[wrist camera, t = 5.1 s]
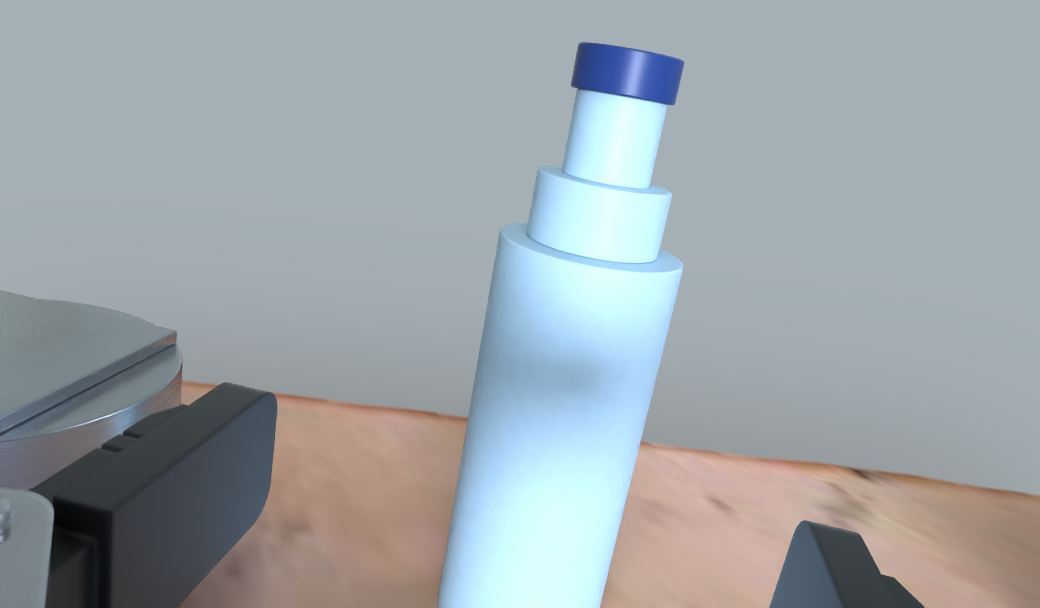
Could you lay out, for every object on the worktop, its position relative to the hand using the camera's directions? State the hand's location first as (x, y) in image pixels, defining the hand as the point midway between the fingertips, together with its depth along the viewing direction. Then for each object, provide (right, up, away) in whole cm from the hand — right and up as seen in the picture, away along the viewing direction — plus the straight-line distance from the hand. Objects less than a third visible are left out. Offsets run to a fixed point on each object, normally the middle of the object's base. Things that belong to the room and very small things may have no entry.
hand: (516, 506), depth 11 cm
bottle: (0, -8, +15) cm, 17 cm away
